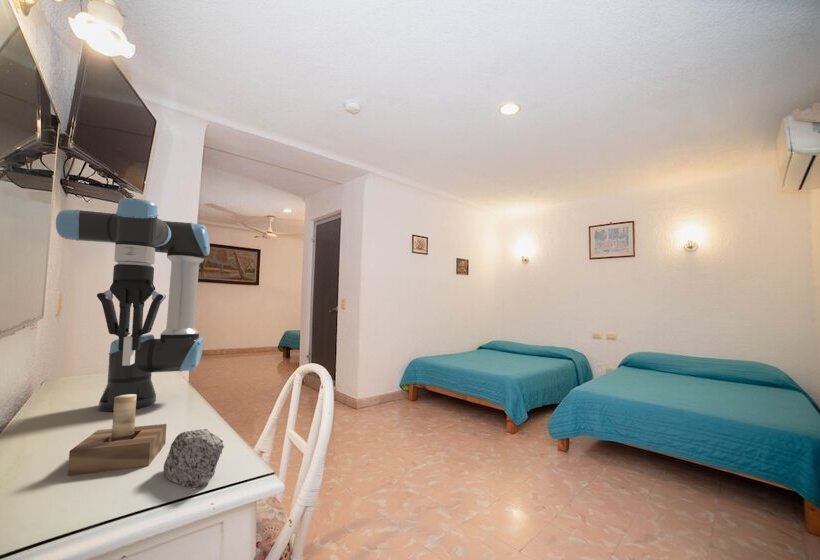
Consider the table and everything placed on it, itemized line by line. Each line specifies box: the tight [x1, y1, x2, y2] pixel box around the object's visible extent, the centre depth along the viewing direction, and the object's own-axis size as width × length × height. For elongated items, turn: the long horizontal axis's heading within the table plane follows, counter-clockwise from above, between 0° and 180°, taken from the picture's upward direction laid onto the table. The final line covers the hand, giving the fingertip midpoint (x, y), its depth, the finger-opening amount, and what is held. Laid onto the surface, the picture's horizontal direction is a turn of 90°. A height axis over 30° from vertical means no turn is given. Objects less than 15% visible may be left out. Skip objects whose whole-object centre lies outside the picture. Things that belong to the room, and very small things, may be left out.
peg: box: [111, 394, 137, 441], centre depth 80 cm, size 4×4×14 cm
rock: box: [163, 428, 225, 490], centre depth 72 cm, size 16×8×10 cm, turn 47°
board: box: [67, 423, 168, 476], centre depth 80 cm, size 12×14×5 cm
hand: (128, 364), depth 81 cm, fingers closed
